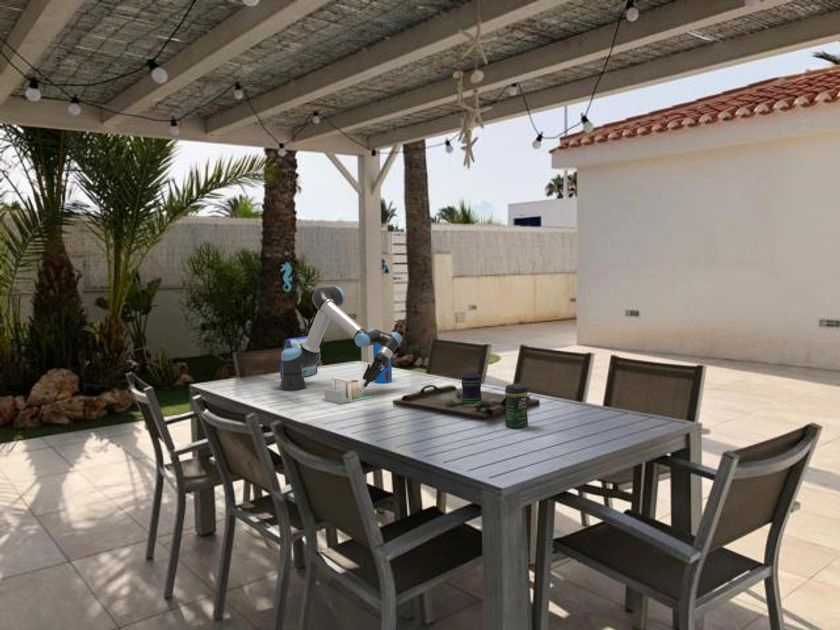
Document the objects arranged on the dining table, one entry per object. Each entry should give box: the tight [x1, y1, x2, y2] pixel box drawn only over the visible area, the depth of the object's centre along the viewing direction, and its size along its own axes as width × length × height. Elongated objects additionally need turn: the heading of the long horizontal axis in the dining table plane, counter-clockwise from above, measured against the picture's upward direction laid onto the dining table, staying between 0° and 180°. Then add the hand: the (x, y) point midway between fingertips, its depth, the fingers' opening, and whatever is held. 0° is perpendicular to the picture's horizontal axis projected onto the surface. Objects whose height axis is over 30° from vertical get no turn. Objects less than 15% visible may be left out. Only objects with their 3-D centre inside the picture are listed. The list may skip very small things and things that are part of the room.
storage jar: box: [461, 373, 483, 404], centre depth 336 cm, size 10×10×15 cm
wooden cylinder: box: [344, 379, 360, 399], centre depth 361 cm, size 7×7×9 cm
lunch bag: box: [279, 335, 318, 379], centre depth 439 cm, size 22×17×26 cm
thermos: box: [372, 344, 393, 385], centre depth 410 cm, size 11×11×25 cm
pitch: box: [321, 393, 375, 405], centre depth 363 cm, size 18×22×1 cm
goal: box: [324, 376, 353, 405], centre depth 356 cm, size 16×7×11 cm, turn 41°
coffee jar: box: [504, 382, 529, 429], centre depth 290 cm, size 10×8×19 cm
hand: (360, 390), depth 364 cm, fingers closed
